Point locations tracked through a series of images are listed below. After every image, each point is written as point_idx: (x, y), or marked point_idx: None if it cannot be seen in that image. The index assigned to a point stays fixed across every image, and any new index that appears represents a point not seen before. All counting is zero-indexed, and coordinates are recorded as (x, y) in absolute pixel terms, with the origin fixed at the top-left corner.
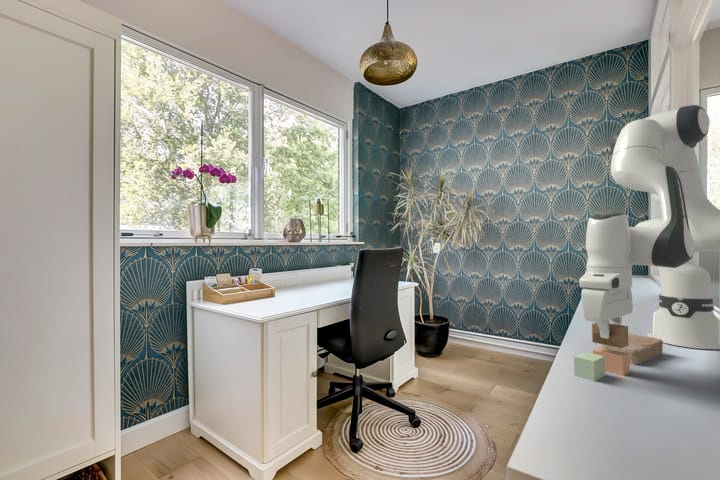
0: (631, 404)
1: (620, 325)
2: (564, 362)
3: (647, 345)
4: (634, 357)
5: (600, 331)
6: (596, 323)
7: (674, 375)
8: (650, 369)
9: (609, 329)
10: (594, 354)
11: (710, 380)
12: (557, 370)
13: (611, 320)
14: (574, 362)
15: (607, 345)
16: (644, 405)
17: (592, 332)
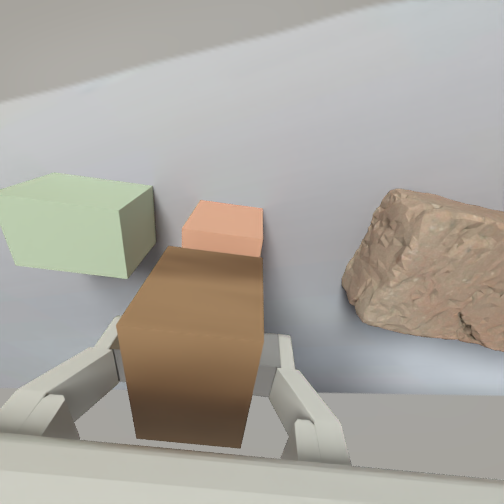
0: (10, 312)
1: (229, 429)
2: (176, 85)
3: (477, 339)
4: (349, 300)
5: (99, 341)
6: (166, 342)
7: (304, 351)
8: (321, 315)
9: (108, 391)
10: (115, 247)
11: (317, 390)
12: (41, 100)
13: (305, 411)
14: (13, 186)
15: (406, 233)
16: (33, 327)
17: (145, 280)
